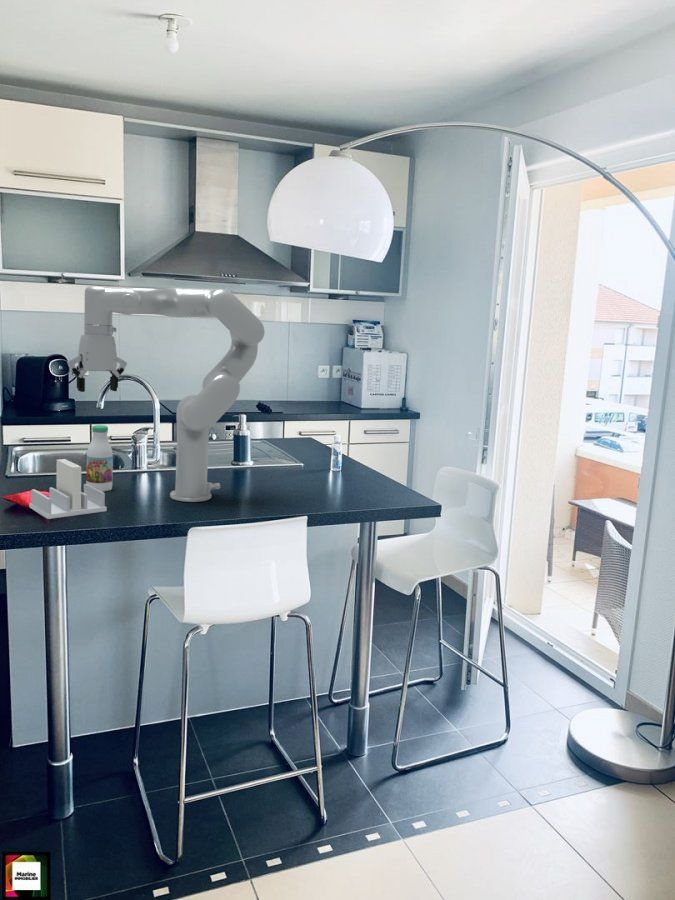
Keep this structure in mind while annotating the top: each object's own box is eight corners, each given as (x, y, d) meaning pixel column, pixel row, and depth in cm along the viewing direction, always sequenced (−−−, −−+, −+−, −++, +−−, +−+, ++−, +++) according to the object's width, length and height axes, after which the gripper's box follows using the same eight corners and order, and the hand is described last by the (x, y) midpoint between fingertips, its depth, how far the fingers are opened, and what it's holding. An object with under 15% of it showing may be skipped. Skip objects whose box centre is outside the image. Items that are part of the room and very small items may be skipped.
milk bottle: (85, 486, 234) (86, 423, 230) (111, 486, 237) (112, 424, 233) (86, 492, 227) (87, 428, 223) (113, 492, 230) (114, 428, 226)
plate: (64, 500, 213) (64, 459, 211) (80, 509, 205) (81, 466, 203) (56, 500, 211) (56, 459, 209) (72, 510, 203) (72, 467, 201)
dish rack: (86, 500, 219) (86, 483, 218) (106, 511, 209) (106, 493, 208) (29, 507, 207) (29, 489, 206) (47, 519, 198) (47, 500, 197)
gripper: (120, 331, 219) (119, 388, 222) (62, 329, 208) (62, 390, 211) (132, 332, 214) (131, 392, 217) (74, 330, 202) (73, 393, 206)
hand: (97, 391), depth 214 cm, fingers open, 9 cm apart
